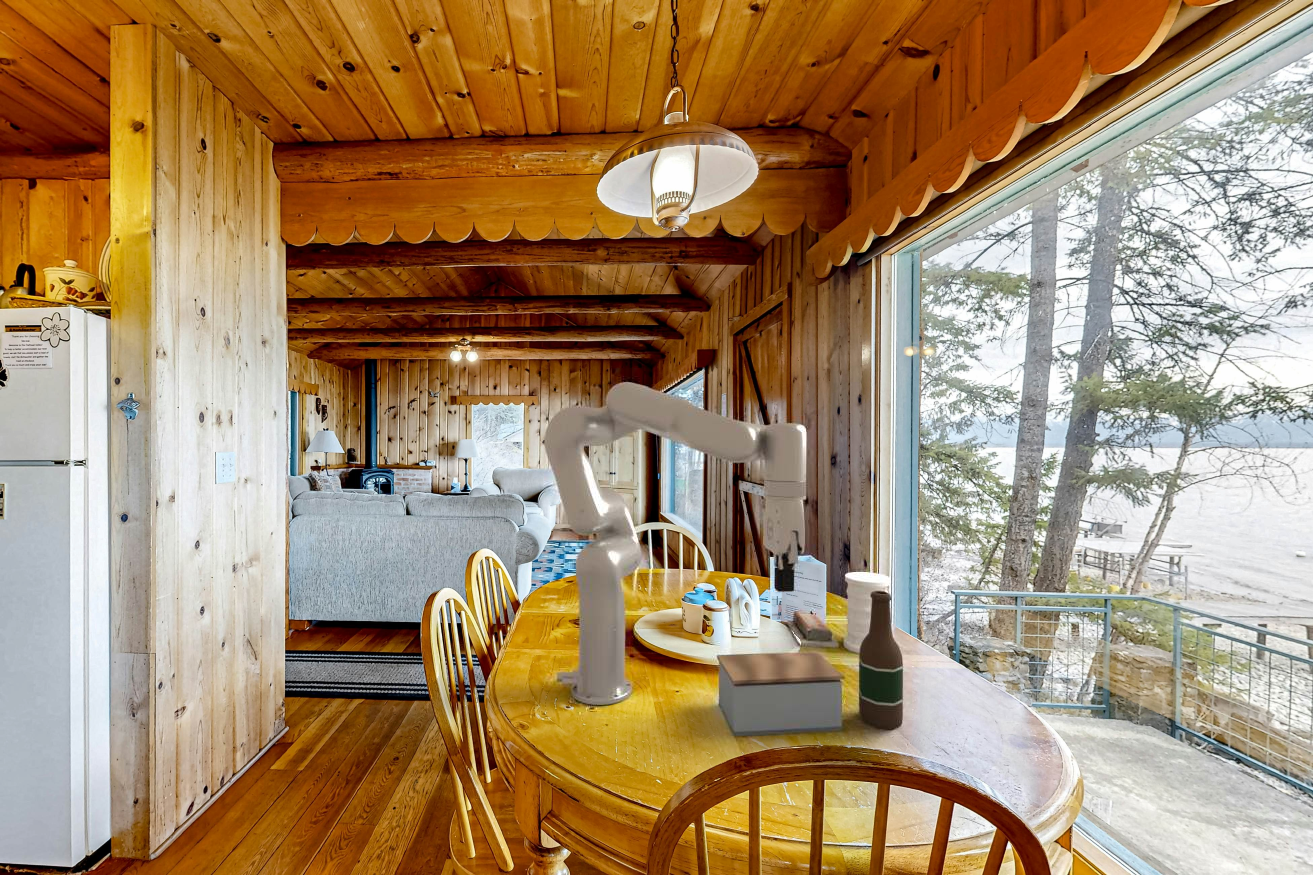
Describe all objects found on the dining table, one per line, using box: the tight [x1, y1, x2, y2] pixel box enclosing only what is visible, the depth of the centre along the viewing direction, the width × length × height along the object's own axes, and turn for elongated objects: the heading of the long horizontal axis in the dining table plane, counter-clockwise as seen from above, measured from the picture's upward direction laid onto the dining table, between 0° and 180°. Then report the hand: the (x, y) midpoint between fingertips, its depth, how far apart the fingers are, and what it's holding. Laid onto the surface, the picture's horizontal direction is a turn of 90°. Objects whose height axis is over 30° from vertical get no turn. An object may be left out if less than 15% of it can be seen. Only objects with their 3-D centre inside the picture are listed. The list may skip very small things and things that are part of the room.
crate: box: [718, 661, 843, 738], centre depth 105 cm, size 20×12×9 cm, turn 96°
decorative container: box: [843, 571, 891, 654], centre depth 142 cm, size 12×12×18 cm
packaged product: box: [787, 610, 840, 648], centre depth 151 cm, size 18×5×10 cm
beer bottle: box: [858, 591, 904, 731], centre depth 105 cm, size 8×8×24 cm
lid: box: [716, 651, 846, 684], centre depth 105 cm, size 21×13×1 cm, turn 97°
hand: (784, 590), depth 102 cm, fingers closed
